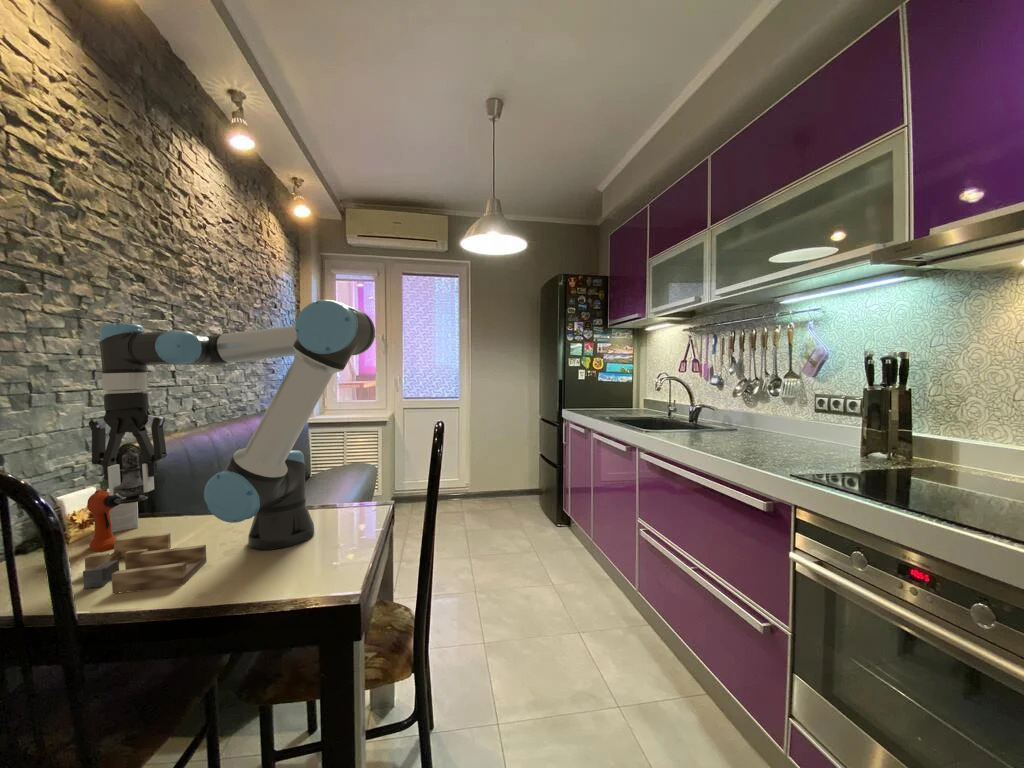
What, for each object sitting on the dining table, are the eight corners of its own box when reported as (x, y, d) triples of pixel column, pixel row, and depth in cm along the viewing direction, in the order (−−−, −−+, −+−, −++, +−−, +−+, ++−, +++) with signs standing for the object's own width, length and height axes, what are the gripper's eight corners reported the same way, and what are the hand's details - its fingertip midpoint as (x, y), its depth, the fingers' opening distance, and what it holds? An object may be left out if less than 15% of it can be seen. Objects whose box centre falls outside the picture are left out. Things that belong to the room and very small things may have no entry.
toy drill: (117, 555, 99) (110, 491, 99) (86, 551, 108) (79, 492, 108) (143, 547, 103) (136, 486, 104) (111, 544, 112) (104, 487, 112)
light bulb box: (107, 524, 125) (106, 488, 125) (138, 518, 129) (136, 483, 129) (106, 534, 117) (104, 495, 117) (139, 527, 122) (137, 490, 121)
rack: (206, 561, 98) (205, 544, 97) (183, 584, 87) (182, 565, 87) (144, 569, 94) (143, 551, 94) (112, 594, 84) (111, 574, 84)
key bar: (121, 573, 93) (120, 557, 93) (102, 586, 87) (102, 569, 87) (103, 575, 92) (102, 559, 92) (83, 588, 86) (82, 571, 86)
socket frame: (170, 549, 106) (170, 533, 105) (145, 568, 95) (144, 550, 95) (117, 555, 103) (116, 538, 102) (85, 575, 92) (84, 557, 92)
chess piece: (111, 505, 94) (107, 452, 93) (121, 499, 99) (117, 448, 98) (145, 501, 96) (141, 448, 96) (153, 495, 101) (150, 445, 101)
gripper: (182, 389, 103) (187, 484, 103) (87, 393, 98) (94, 492, 99) (165, 390, 95) (171, 492, 96) (62, 394, 91) (69, 501, 91)
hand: (132, 492), depth 97 cm, fingers closed on chess piece, 6 cm apart
